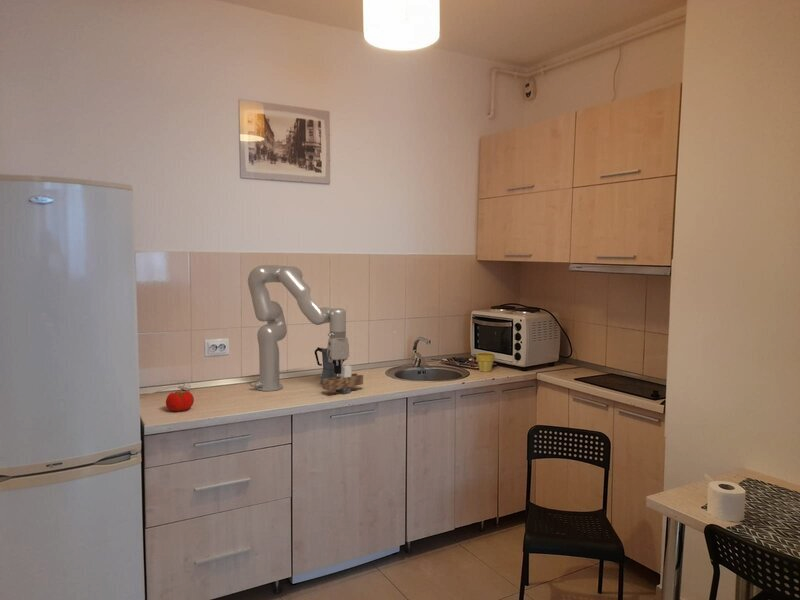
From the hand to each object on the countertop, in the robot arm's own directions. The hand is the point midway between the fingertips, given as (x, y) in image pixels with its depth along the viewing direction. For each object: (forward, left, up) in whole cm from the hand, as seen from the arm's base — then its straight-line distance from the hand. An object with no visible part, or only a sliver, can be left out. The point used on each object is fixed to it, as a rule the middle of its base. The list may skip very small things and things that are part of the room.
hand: (337, 373), depth 258 cm
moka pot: (+9, +20, -10) cm, 24 cm away
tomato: (-66, +22, -10) cm, 70 cm away
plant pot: (+95, -14, -10) cm, 96 cm away
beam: (+3, 0, -10) cm, 10 cm away
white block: (+4, 0, -5) cm, 6 cm away
